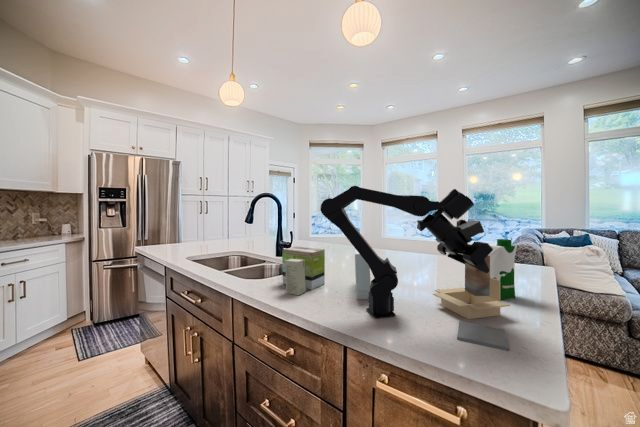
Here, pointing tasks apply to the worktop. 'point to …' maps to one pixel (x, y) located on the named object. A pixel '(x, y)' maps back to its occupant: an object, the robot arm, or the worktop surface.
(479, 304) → the cardboard carton
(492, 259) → the milk carton
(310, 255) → the tea box
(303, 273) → the skincare box
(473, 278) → the walnut box
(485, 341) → the slate coaster
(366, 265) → the skincare box
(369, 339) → the worktop surface
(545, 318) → the worktop surface
